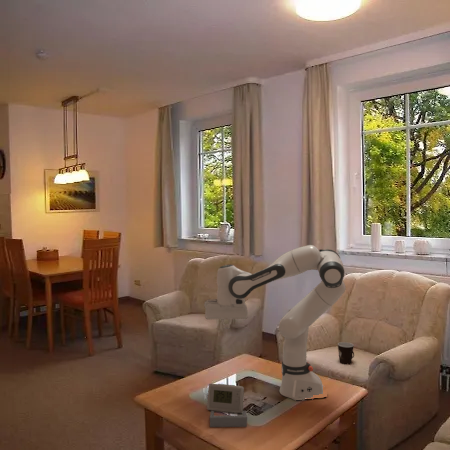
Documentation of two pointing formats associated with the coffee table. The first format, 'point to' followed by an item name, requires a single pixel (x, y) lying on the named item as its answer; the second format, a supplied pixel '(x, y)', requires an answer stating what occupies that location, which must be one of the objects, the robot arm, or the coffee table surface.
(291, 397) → the robot arm
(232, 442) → the coffee table surface
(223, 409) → the digital clock
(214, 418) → the dock
